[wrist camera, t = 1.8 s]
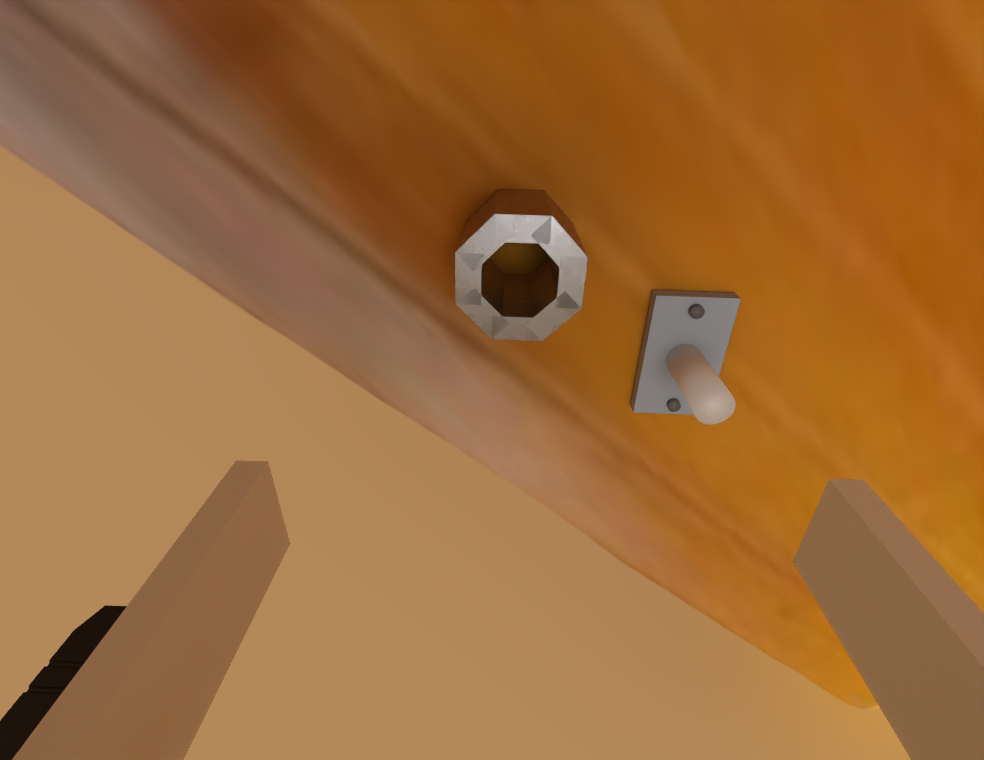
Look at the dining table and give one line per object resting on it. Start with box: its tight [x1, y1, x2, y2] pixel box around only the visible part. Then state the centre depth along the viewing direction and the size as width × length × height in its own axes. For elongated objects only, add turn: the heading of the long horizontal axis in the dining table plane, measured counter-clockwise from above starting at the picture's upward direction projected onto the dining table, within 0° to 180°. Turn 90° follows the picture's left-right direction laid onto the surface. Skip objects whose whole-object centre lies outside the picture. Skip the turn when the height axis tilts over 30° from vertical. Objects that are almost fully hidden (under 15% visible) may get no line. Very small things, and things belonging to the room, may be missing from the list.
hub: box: [455, 189, 588, 341], centre depth 32 cm, size 7×7×8 cm
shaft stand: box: [630, 290, 741, 424], centre depth 36 cm, size 6×10×8 cm, turn 179°
